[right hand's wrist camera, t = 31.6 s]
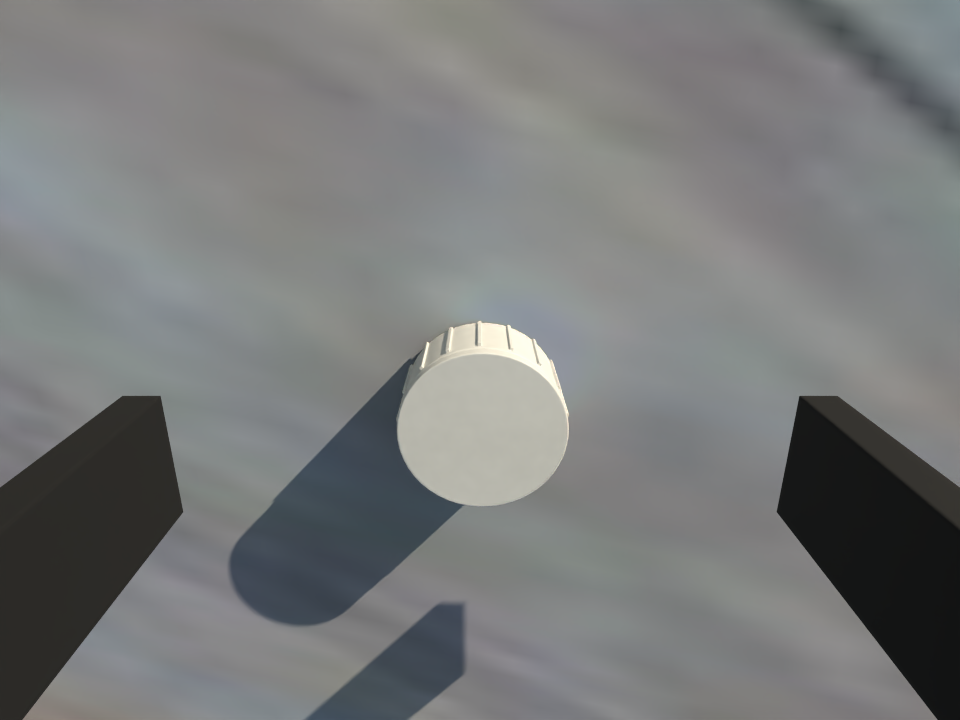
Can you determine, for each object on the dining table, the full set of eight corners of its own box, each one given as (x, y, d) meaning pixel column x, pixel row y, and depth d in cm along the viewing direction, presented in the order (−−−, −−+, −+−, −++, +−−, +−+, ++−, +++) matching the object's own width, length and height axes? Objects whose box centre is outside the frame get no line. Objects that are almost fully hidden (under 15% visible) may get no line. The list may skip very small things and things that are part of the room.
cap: (570, 445, 16) (584, 491, 14) (426, 473, 17) (418, 523, 14) (544, 305, 15) (554, 334, 13) (387, 338, 15) (373, 371, 13)
